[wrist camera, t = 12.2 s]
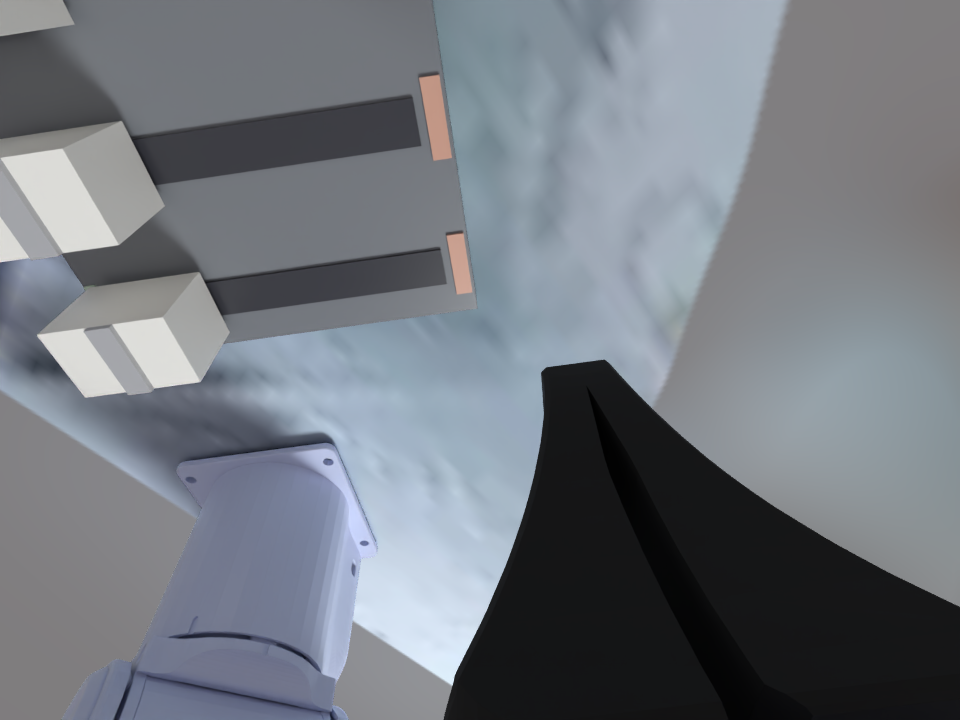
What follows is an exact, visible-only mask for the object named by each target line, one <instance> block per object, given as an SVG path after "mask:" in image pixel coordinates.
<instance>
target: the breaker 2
mask: <svg viewBox="0 0 960 720" xmlns="http://www.w3.org/2000/svg"><path fill="white" fill-rule="evenodd" d="M229 333H230V332H229V330H228V328H227V326H226V324H225V322H224V320H223V318H222V316H221V314H220V312H219V310H218V308H217V306H216V304H215V302H214V300H213V298H212V296H211V294H210V292H209V290H208V288H207V286H206V284H205V282H204V280H203V278H202V276H201V274H200V272H195V273H188V274H181V275H174V276H167V277H160V278H153V279H146V280H139V281H132V282H125V283H118V284H111V285H104V286H97V287H90V288H88V289H87V290H86V291H85V292H84V293H83V294H81V295H80V296H79V297H78V298H77V299H76V300H75V301H74V302H73V303H71V304H70V305H69V306H68V307H67V308H66V309H65V310H64V311H63V312H61V313H60V314H59V315H58V316H57V317H56V318H55V319H54V320H53V321H51V322H50V323H49V324H48V325H47V326H46V327H45V328H44V329H43V330H41V331H40V332H39V333H38V334H37V336H38V338H39V339H40V340H41V341H42V343H43V344H44V345H45V347H46V348H47V349H48V350H49V352H50V353H51V354H52V356H53V357H54V358H55V359H56V361H57V362H58V363H59V365H60V366H61V367H62V368H63V370H64V371H65V372H66V374H67V375H68V376H69V377H70V379H71V380H72V381H73V383H74V384H75V385H76V386H77V388H78V389H79V390H80V392H81V393H82V394H83V395H84V397H85V398H88V397H95V396H103V395H110V394H117V393H125V392H126V393H127V394H128V395H135V394H143V393H150V392H152V391H153V390H154V388H161V387H169V386H176V385H183V384H190V383H198V382H201V381H202V379H203V377H204V376H205V374H206V372H207V370H208V369H209V367H210V365H211V364H212V362H213V360H214V359H215V357H216V355H217V353H218V352H219V350H220V348H221V347H222V345H223V343H224V341H225V340H226V338H227V336H228V335H229Z"/></svg>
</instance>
